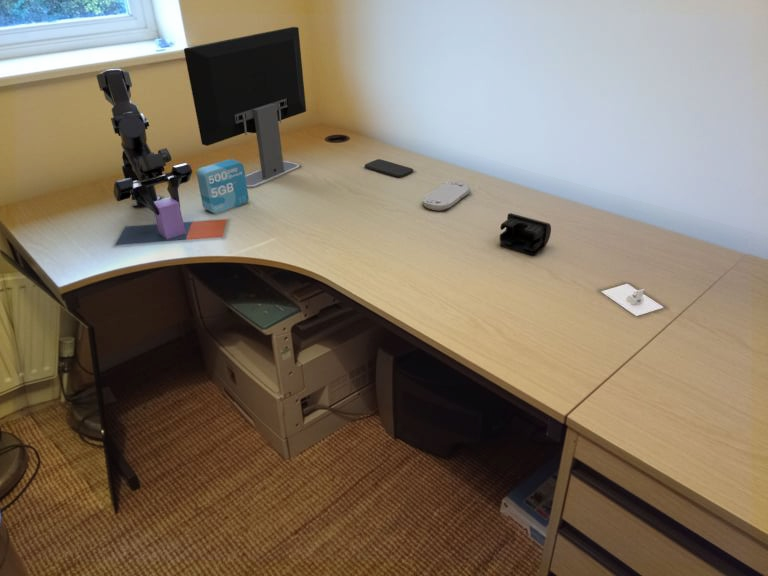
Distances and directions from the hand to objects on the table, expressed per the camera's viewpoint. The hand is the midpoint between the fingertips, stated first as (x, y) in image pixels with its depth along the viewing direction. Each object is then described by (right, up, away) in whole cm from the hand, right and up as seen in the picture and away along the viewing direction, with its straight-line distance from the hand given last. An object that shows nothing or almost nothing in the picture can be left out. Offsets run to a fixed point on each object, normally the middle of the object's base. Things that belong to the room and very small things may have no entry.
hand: (168, 211), depth 145 cm
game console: (+71, +6, +19) cm, 73 cm away
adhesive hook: (+103, -21, -26) cm, 108 cm away
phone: (+54, +18, +40) cm, 70 cm away
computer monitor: (+16, +16, +39) cm, 46 cm away
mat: (-1, -5, +5) cm, 7 cm away
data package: (+9, +4, +19) cm, 21 cm away
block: (-1, -5, +4) cm, 7 cm away
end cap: (+86, -9, -5) cm, 87 cm away
